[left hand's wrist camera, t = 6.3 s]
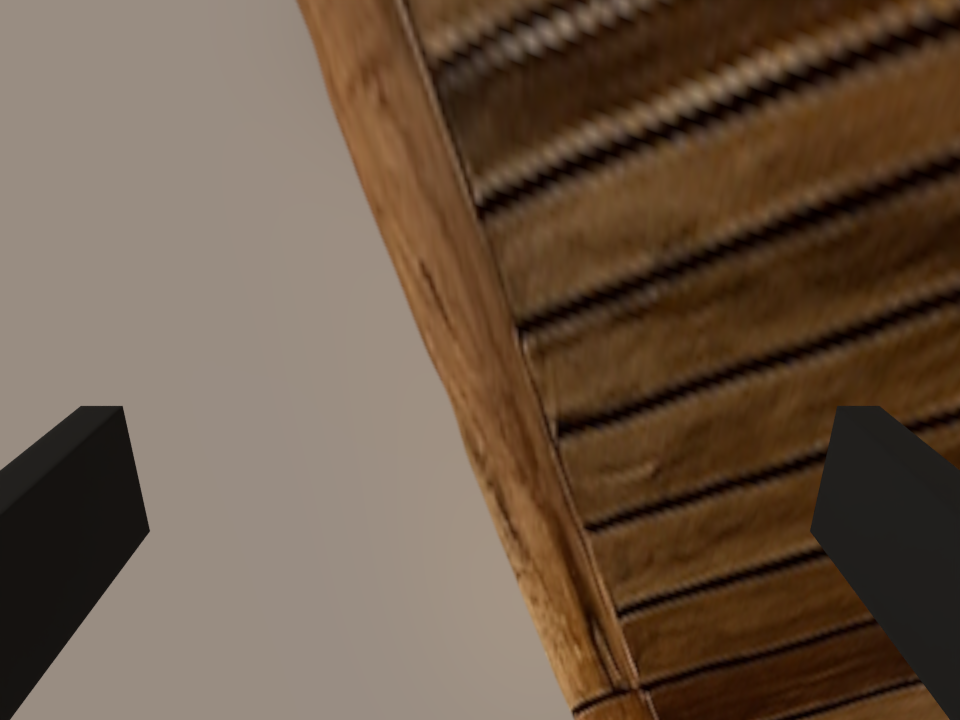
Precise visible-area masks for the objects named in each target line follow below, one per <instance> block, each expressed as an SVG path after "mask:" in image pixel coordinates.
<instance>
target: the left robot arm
mask: <svg viewBox="0 0 960 720" xmlns="http://www.w3.org/2000/svg"><path fill="white" fill-rule="evenodd" d="M149 532H150V529H149V525H148V521H147V516H146V511H145V507H144V502H143V497H142V493H141V488H140V484H139V479H138V475H137V470H136V465H135V461H134V456H133V452H132V447H131V442H130V438H129V433H128V429H127V424H126V420H125V415H124V410H123V406H80V407H79V408H78V409H77V410H75V411H74V412H73V413H72V414H70V415H69V416H68V417H67V418H65V419H64V420H63V421H62V422H60V423H59V424H58V425H57V426H55V427H54V428H53V429H52V430H50V431H49V432H48V433H47V434H45V435H44V436H43V437H42V438H40V439H39V440H38V441H37V442H35V443H34V444H33V445H32V446H30V447H29V448H28V449H27V450H25V451H24V452H23V453H22V454H20V455H19V456H18V457H17V458H15V459H14V460H13V461H12V462H10V463H9V464H8V465H7V466H5V467H4V468H3V469H2V470H0V720H10V719H11V718H12V716H13V715H14V713H15V712H16V711H17V709H18V708H19V707H20V705H21V704H22V703H23V701H24V700H25V699H26V697H27V696H28V695H29V693H30V692H31V691H32V689H33V688H34V687H35V685H36V684H37V683H38V681H39V680H40V679H41V677H42V676H43V674H44V673H45V672H46V670H47V669H48V668H49V666H50V665H51V664H52V662H53V661H54V660H55V658H56V657H57V656H58V654H59V653H60V652H61V650H62V649H63V648H64V646H65V645H66V644H67V642H68V641H69V639H70V638H71V637H72V635H73V634H74V633H75V631H76V630H77V629H78V627H79V626H80V625H81V623H82V622H83V621H84V619H85V618H86V617H87V615H88V614H89V612H90V611H91V610H92V608H93V607H94V606H95V604H96V603H97V602H98V600H99V599H100V598H101V596H102V595H103V594H104V592H105V591H106V590H107V588H108V587H109V586H110V584H111V583H112V581H113V580H114V579H115V577H116V576H117V575H118V573H119V572H120V571H121V569H122V568H123V567H124V565H125V564H126V563H127V561H128V560H129V559H130V557H131V556H132V554H133V553H134V552H135V550H136V549H137V548H138V547H139V545H140V544H141V542H142V541H143V540H144V538H145V537H146V536H147V534H148V533H149ZM810 532H811V533H812V534H813V536H814V537H815V538H816V540H817V541H818V542H819V544H820V545H821V547H822V548H823V549H824V551H825V552H826V553H827V555H828V556H829V557H830V559H831V560H832V561H833V563H834V564H835V565H836V567H837V568H838V569H839V571H840V572H841V573H842V575H843V576H844V577H845V579H846V580H847V582H848V583H849V584H850V586H851V587H852V588H853V590H854V591H855V592H856V594H857V595H858V596H859V598H860V599H861V600H862V602H863V603H864V604H865V606H866V607H867V608H868V610H869V611H870V613H871V614H872V615H873V617H874V618H875V619H876V621H877V622H878V623H879V625H880V626H881V627H882V629H883V630H884V631H885V633H886V634H887V635H888V637H889V638H890V639H891V641H892V642H893V644H894V645H895V646H896V648H897V649H898V650H899V652H900V653H901V654H902V656H903V657H904V658H905V660H906V661H907V662H908V664H909V665H910V666H911V668H912V669H913V670H914V672H915V673H916V674H917V676H918V677H919V679H920V680H921V681H922V683H923V684H924V685H925V687H926V688H927V689H928V691H929V692H930V693H931V695H932V696H933V697H934V699H935V700H936V701H937V703H938V704H939V705H940V707H941V708H942V710H943V711H944V712H945V714H946V715H947V716H948V718H949V719H950V720H960V470H958V469H957V468H956V467H955V466H953V465H952V464H951V463H950V462H948V461H947V460H946V459H945V458H943V457H942V456H941V455H940V454H938V453H937V452H936V451H935V450H933V449H932V448H931V447H930V446H928V445H927V444H926V443H925V442H923V441H922V440H921V439H920V438H918V437H917V436H916V435H915V434H913V433H912V432H911V431H910V430H908V429H907V428H906V427H905V426H903V425H902V424H901V423H900V422H898V421H897V420H896V419H895V418H893V417H892V416H891V415H890V414H888V413H887V412H886V411H885V410H883V409H882V408H881V407H880V406H837V410H836V415H835V419H834V424H833V429H832V433H831V438H830V442H829V447H828V452H827V456H826V461H825V465H824V470H823V474H822V479H821V484H820V488H819V493H818V497H817V502H816V506H815V511H814V516H813V520H812V525H811V529H810Z"/></svg>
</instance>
